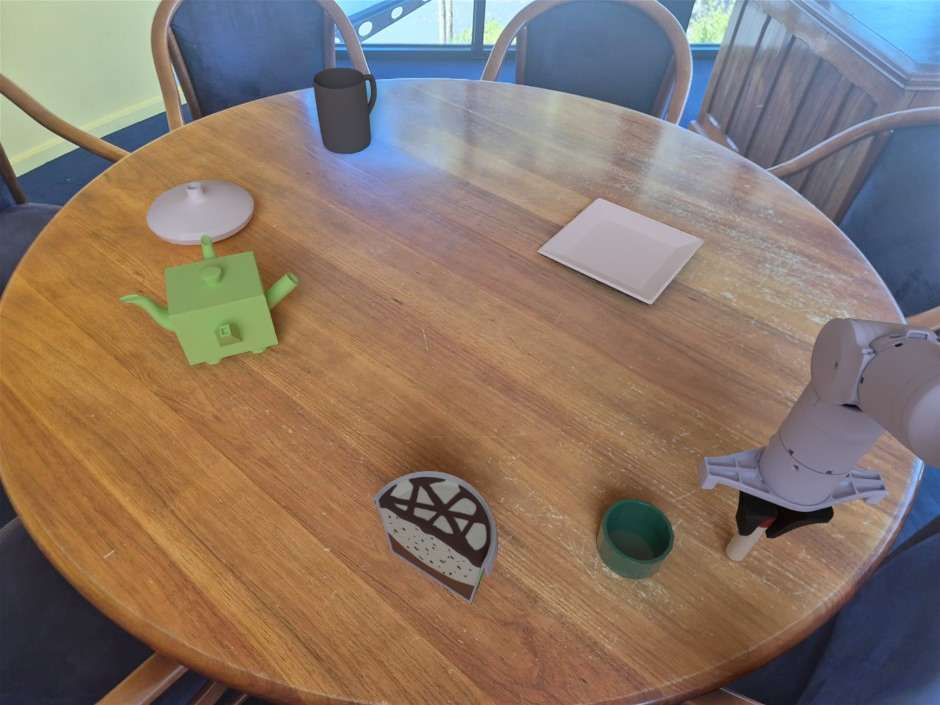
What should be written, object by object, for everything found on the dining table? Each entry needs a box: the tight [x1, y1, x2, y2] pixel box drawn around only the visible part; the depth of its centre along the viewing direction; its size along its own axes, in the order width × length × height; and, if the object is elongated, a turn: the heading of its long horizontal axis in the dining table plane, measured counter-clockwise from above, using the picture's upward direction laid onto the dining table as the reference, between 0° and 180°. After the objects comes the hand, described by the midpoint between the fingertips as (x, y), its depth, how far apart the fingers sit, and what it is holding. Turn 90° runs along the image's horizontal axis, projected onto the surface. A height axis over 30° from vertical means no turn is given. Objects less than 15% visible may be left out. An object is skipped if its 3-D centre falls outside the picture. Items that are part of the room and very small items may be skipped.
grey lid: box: [145, 179, 255, 246], centre depth 95 cm, size 16×16×7 cm
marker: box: [725, 507, 777, 562], centre depth 59 cm, size 2×2×8 cm
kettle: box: [118, 235, 300, 366], centre depth 77 cm, size 15×14×11 cm
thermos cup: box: [596, 498, 676, 580], centre depth 61 cm, size 7×7×4 cm
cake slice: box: [371, 470, 499, 605], centre depth 58 cm, size 12×6×10 cm, turn 58°
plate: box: [537, 197, 705, 306], centre depth 94 cm, size 19×19×2 cm
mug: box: [312, 67, 378, 155], centre depth 113 cm, size 14×9×12 cm
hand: (754, 527), depth 58 cm, fingers closed on marker, 2 cm apart
